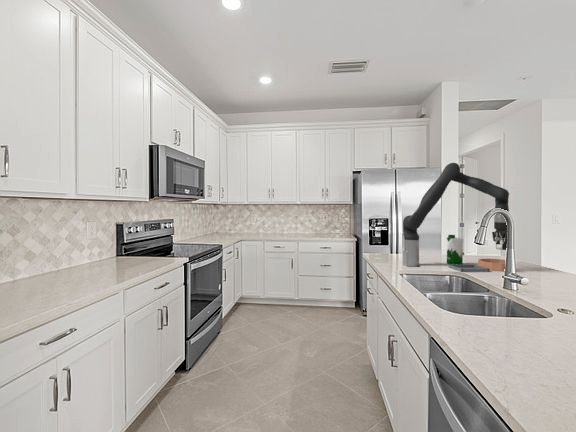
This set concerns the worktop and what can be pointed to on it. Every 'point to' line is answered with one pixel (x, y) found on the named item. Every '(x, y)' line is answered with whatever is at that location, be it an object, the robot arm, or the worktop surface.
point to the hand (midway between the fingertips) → (501, 249)
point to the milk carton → (454, 250)
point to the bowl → (492, 264)
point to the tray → (469, 268)
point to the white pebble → (499, 246)
